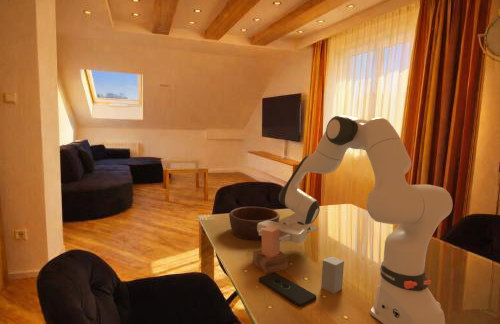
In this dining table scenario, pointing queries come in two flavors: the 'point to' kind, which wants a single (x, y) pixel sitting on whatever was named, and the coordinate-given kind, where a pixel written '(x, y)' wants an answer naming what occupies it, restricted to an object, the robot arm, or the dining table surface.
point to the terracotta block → (270, 241)
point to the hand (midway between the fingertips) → (270, 236)
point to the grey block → (332, 274)
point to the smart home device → (287, 289)
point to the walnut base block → (270, 261)
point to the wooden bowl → (250, 221)
